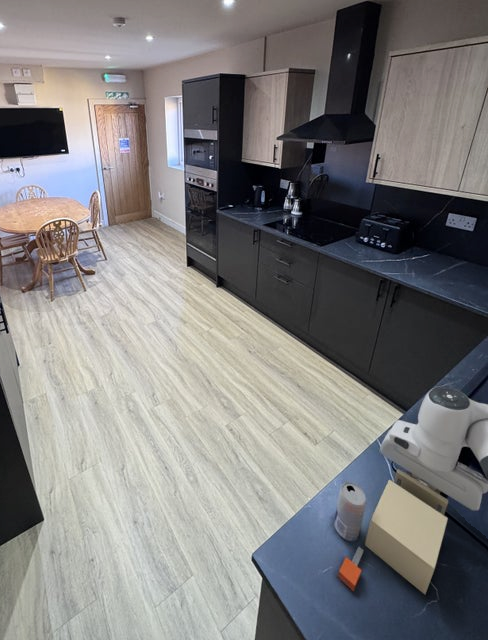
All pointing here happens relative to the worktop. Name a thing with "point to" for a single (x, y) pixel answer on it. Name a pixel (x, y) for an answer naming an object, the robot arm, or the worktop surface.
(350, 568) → the orange stamp with handle
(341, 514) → the energy drink
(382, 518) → the tan cardboard carton
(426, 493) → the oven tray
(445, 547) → the worktop surface
